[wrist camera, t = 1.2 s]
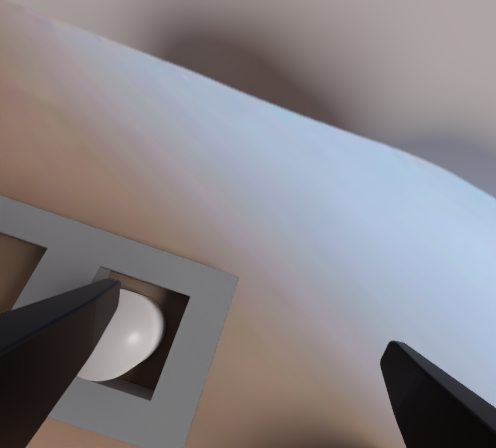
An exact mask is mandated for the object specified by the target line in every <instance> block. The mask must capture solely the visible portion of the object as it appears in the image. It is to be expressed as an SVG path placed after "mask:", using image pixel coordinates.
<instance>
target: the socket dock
mask: <svg viewBox="0 0 496 448" xmlns="http://www.w3.org/2000/svg"><path fill="white" fill-rule="evenodd" d="M0 233H2V234H5V235H8V236H10V237H13V238H16V239H19V240H22V241H25V242H28V243H31V244H34V245H37V246H40V247H43V248H46V249H47V250H46V252H45V254H44V255H43V257H42V259H41V260H40V262H39V264H38V265H37V267H36V269H35V270H34V272H33V274H32V275H31V277H30V279H29V281H28V282H27V284H26V286H25V287H24V289H23V291H22V292H21V294H20V296H19V297H18V299H17V301H16V302H15V304H14V306H13V307H12V309H11V310H14V309H17V308H20V307H23V306H26V305H29V304H32V303H35V302H38V301H41V300H44V299H47V298H49V297H52V296H55V295H58V294H61V293H64V292H67V291H70V290H73V289H76V288H79V287H82V286H85V285H88V284H91V283H94V282H97V281H100V280H103V279H106V278H108V277H109V275H110V273H111V271H114V272H117V273H120V274H122V275H125V276H128V277H131V278H134V279H137V280H140V281H143V282H146V283H149V284H152V285H155V286H158V287H161V288H164V289H167V290H170V291H173V292H176V293H178V294H181V295H184V296H187V297H190V299H189V302H188V304H187V307H186V310H185V312H184V315H183V317H182V320H181V323H180V325H179V328H178V331H177V333H176V336H175V339H174V341H173V344H172V346H171V349H170V352H169V354H168V357H167V360H166V362H165V365H164V367H163V370H162V373H161V375H160V378H159V381H158V383H157V386H156V389H155V390H152V389H149V388H146V387H143V386H140V385H137V384H134V383H131V382H128V381H125V380H122V379H119V378H116V377H118V376H120V375H122V374H124V373H125V372H127V371H129V370H130V369H132V368H133V367H135V366H136V365H138V364H139V363H141V362H142V361H144V360H145V359H147V358H148V357H149V356H151V355H152V354H153V353H154V352H155V351H156V350H157V349H158V348H159V346H160V345H161V343H162V341H163V339H164V336H165V333H166V317H165V314H164V311H163V309H162V308H161V306H160V305H159V304H158V303H157V302H156V301H155V300H153V299H151V298H149V297H147V296H144V295H140V294H137V293H134V292H131V291H127V290H124V289H120V296H119V304H118V308H117V310H116V312H115V314H114V316H113V317H112V319H111V321H110V323H109V325H108V326H107V328H106V330H105V332H104V333H103V335H102V337H101V339H100V341H99V342H98V344H97V346H96V348H95V349H94V351H93V353H92V354H91V356H90V357H89V359H88V360H87V362H86V363H85V365H84V366H83V367H82V369H81V370H80V372H79V373H78V374H77V376H76V377H75V379H74V380H73V381H72V383H71V384H70V386H69V387H68V388H67V390H66V391H65V393H64V394H63V395H62V397H61V398H60V400H59V401H58V403H57V404H56V405H55V407H54V408H53V410H52V411H51V412H50V414H49V415H48V418H51V419H54V420H57V421H60V422H63V423H66V424H69V425H72V426H75V427H78V428H82V429H85V430H88V431H91V432H94V433H97V434H100V435H103V436H106V437H109V438H112V439H115V440H118V441H121V442H124V443H128V444H131V445H134V446H137V447H140V448H184V445H185V442H186V439H187V436H188V433H189V430H190V427H191V424H192V421H193V418H194V415H195V412H196V409H197V405H198V402H199V399H200V396H201V393H202V390H203V387H204V384H205V381H206V378H207V375H208V372H209V369H210V366H211V363H212V360H213V356H214V353H215V350H216V347H217V344H218V341H219V338H220V335H221V332H222V329H223V326H224V323H225V320H226V317H227V314H228V311H229V307H230V304H231V301H232V298H233V295H234V292H235V289H236V286H237V283H238V280H239V277H238V276H235V275H232V274H229V273H226V272H223V271H220V270H217V269H214V268H211V267H209V266H206V265H203V264H200V263H197V262H194V261H191V260H188V259H185V258H182V257H179V256H176V255H173V254H171V253H168V252H165V251H162V250H159V249H156V248H153V247H150V246H147V245H144V244H141V243H138V242H136V241H133V240H130V239H127V238H124V237H121V236H118V235H115V234H112V233H109V232H106V231H103V230H100V229H98V228H95V227H92V226H89V225H86V224H83V223H80V222H77V221H74V220H71V219H68V218H65V217H62V216H60V215H57V214H54V213H51V212H48V211H45V210H42V209H39V208H36V207H33V206H30V205H27V204H24V203H22V202H19V201H16V200H13V199H10V198H7V197H4V196H1V195H0Z"/></svg>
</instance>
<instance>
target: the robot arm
mask: <svg viewBox="0 0 496 448" xmlns="http://www.w3.org/2000/svg"><path fill="white" fill-rule="evenodd" d="M120 288H121V283H120V281H118V280H114V279H109V278H106V279H103V280H100V281H97V282H94V283H91V284H88V285H85V286H82V287H79V288H76V289H73V290H70V291H67V292H64V293H61V294H58V295H55V296H52V297H49V298H47V299H44V300H41V301H38V302H35V303H32V304H29V305H26V306H23V307H20V308H17V309H14V310H11V311H8V312H5V313H2V314H0V448H26V446H27V445H28V443H29V442H30V440H31V439H32V438H33V436H34V435H35V433H36V432H37V431H38V429H39V428H40V426H41V425H42V424H43V422H44V421H45V419H46V418H47V417H48V415H49V414H50V412H51V411H52V410H53V408H54V407H55V405H56V404H57V403H58V401H59V400H60V398H61V397H62V395H63V394H64V393H65V391H66V390H67V388H68V387H69V386H70V384H71V383H72V381H73V380H74V379H75V377H76V376H77V374H78V373H79V372H80V370H81V369H82V367H83V366H84V365H85V363H86V362H87V360H88V359H89V357H90V356H91V354H92V353H93V351H94V349H95V348H96V346H97V344H98V342H99V341H100V339H101V337H102V335H103V333H104V332H105V330H106V328H107V326H108V325H109V323H110V321H111V319H112V317H113V316H114V314H115V312H116V310H117V308H118V304H119V296H120ZM380 366H381V370H382V374H383V377H384V381H385V385H386V388H387V392H388V395H389V399H390V402H391V406H392V409H393V412H394V415H395V418H396V421H397V424H398V427H399V429H400V432H401V434H402V437H403V440H404V442H405V445H406V448H496V408H495V407H494V406H492V405H491V404H489V403H488V402H487V401H485V400H484V399H482V398H481V397H480V396H478V395H477V394H475V393H474V392H473V391H471V390H470V389H468V388H467V387H466V386H464V385H463V384H461V383H460V382H459V381H457V380H456V379H454V378H453V377H452V376H450V375H449V374H447V373H446V372H445V371H443V370H442V369H440V368H439V367H438V366H436V365H435V364H433V363H432V362H431V361H429V360H428V359H426V358H425V357H423V356H422V355H421V354H419V353H418V352H416V351H415V350H414V349H412V348H411V347H409V346H408V345H407V344H405V343H403V342H398V341H390V342H389V344H388V345H387V348H386V350H385V352H384V354H383V356H382V358H381V361H380Z"/></svg>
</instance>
